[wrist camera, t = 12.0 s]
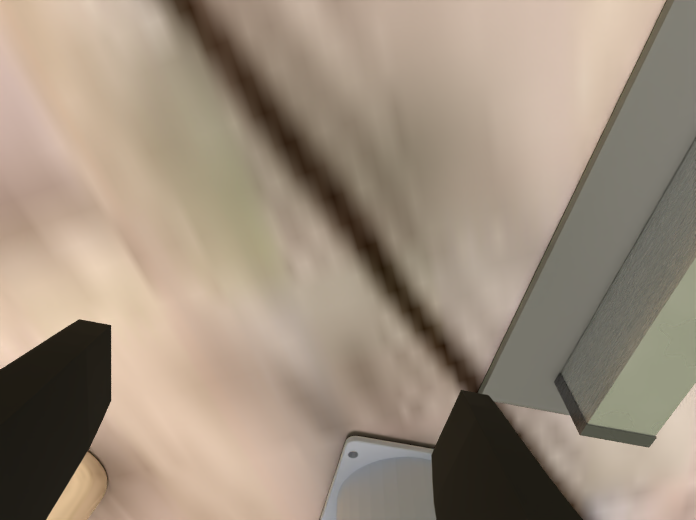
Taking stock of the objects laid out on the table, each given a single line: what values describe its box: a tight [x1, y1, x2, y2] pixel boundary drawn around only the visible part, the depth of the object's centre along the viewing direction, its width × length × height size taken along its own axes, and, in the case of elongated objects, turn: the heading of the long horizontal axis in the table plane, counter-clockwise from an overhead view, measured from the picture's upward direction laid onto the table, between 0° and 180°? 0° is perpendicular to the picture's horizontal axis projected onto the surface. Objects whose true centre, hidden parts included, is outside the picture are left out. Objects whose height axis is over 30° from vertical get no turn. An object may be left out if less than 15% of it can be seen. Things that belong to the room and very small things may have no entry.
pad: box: [478, 0, 696, 415], centre depth 19 cm, size 22×9×1 cm, turn 167°
